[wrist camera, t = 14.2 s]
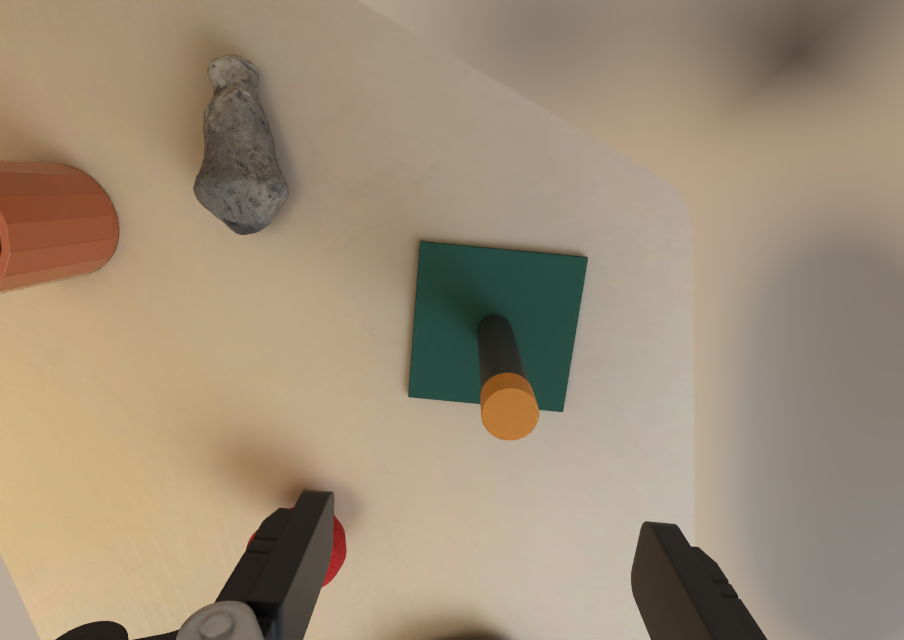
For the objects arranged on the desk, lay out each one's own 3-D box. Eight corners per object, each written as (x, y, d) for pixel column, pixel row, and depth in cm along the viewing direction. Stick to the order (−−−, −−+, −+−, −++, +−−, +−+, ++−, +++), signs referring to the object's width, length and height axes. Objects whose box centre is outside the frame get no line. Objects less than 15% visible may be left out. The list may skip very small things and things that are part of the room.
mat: (420, 240, 36) (419, 241, 35) (586, 256, 36) (588, 257, 35) (409, 394, 39) (408, 397, 38) (561, 409, 39) (563, 412, 38)
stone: (227, 60, 34) (116, 108, 30) (258, 32, 30) (136, 84, 26) (308, 190, 38) (222, 247, 34) (344, 181, 34) (252, 245, 30)
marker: (478, 312, 36) (484, 385, 23) (515, 315, 36) (542, 390, 23) (474, 346, 37) (478, 437, 24) (510, 350, 37) (535, 443, 24)
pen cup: (2, 158, 35) (-151, 148, 26) (114, 169, 35) (-3, 162, 26) (18, 269, 37) (-120, 294, 28) (123, 280, 37) (18, 307, 28)
